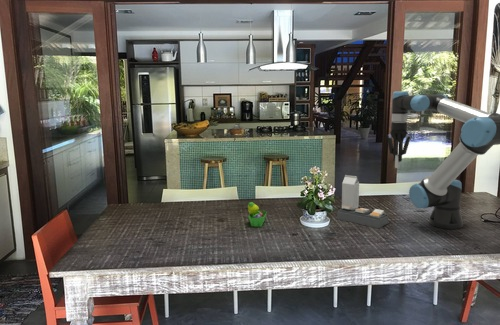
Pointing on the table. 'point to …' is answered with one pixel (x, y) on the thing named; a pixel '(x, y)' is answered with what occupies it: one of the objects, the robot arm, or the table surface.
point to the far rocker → (348, 207)
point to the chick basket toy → (256, 215)
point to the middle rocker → (362, 210)
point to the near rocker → (377, 213)
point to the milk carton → (350, 191)
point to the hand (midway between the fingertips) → (397, 167)
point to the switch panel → (362, 218)
